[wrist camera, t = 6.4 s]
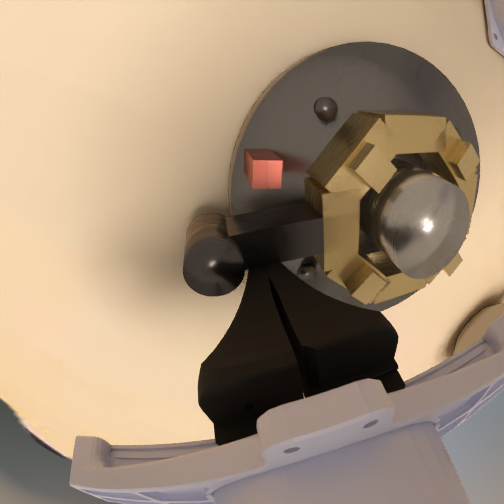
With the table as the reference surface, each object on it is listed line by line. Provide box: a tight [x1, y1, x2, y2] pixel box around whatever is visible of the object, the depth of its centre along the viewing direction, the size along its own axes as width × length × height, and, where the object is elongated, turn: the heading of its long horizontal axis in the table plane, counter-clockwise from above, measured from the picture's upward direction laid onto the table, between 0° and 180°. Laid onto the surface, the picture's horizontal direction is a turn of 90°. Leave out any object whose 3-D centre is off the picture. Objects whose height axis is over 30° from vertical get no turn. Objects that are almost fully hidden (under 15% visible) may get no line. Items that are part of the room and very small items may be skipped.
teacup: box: [453, 304, 504, 356], centre depth 21 cm, size 14×11×8 cm
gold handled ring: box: [183, 110, 480, 305], centre depth 12 cm, size 15×9×3 cm, turn 99°
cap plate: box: [228, 42, 480, 312], centre depth 12 cm, size 16×16×5 cm
